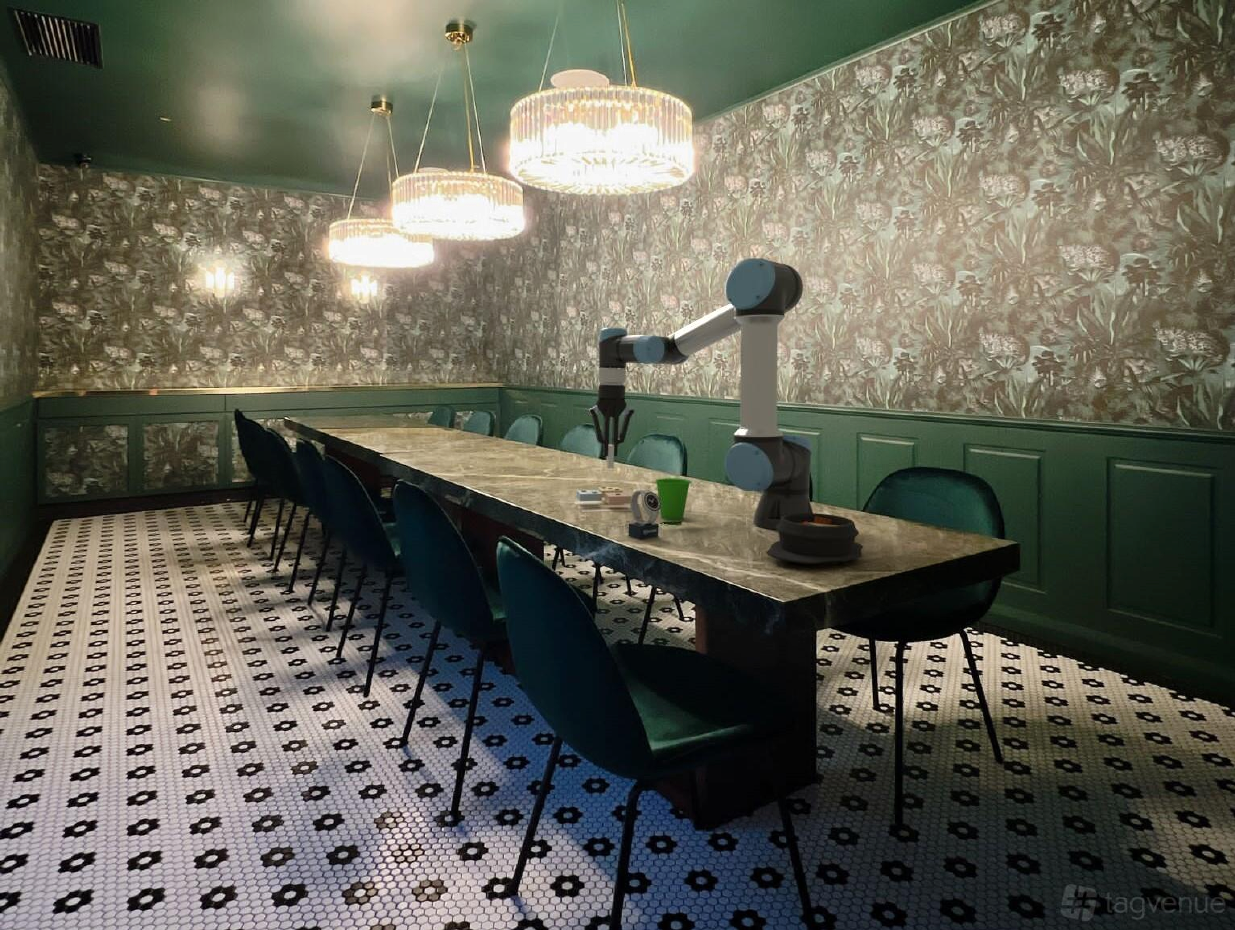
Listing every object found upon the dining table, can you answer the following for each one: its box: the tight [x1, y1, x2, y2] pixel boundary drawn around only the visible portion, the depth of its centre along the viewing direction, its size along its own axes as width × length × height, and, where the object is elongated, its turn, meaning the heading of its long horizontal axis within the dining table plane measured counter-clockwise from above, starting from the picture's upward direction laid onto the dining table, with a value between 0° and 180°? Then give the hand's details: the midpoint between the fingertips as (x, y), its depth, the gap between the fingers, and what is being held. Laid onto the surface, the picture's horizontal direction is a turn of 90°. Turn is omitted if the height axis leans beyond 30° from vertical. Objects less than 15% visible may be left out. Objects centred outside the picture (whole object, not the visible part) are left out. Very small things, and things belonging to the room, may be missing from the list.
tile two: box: [576, 489, 603, 501], centre depth 207 cm, size 6×6×2 cm
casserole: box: [765, 512, 864, 565], centre depth 158 cm, size 25×19×8 cm
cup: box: [654, 477, 692, 526], centre depth 191 cm, size 9×9×11 cm
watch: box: [628, 489, 661, 541], centre depth 175 cm, size 6×8×11 cm
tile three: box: [597, 486, 624, 499], centre depth 213 cm, size 6×6×2 cm
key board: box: [571, 498, 631, 513], centre depth 208 cm, size 19×15×2 cm
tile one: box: [604, 492, 632, 504], centre depth 204 cm, size 6×6×2 cm
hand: (609, 467), depth 213 cm, fingers closed
